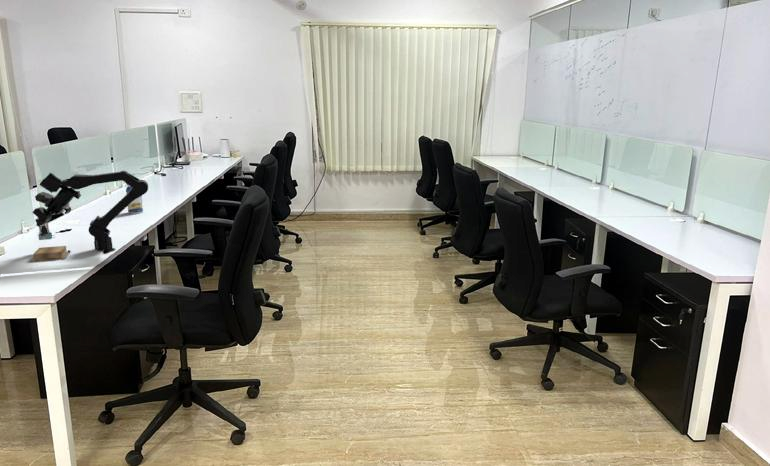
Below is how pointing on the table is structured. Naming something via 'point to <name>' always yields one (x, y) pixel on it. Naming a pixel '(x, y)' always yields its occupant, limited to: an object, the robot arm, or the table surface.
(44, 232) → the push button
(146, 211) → the table surface
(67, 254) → the base plate
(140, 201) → the beverage bottle
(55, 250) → the tan flat square block
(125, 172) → the robot arm
